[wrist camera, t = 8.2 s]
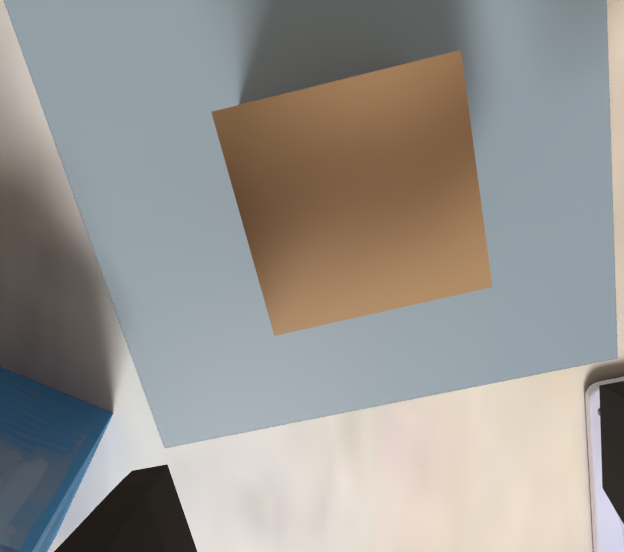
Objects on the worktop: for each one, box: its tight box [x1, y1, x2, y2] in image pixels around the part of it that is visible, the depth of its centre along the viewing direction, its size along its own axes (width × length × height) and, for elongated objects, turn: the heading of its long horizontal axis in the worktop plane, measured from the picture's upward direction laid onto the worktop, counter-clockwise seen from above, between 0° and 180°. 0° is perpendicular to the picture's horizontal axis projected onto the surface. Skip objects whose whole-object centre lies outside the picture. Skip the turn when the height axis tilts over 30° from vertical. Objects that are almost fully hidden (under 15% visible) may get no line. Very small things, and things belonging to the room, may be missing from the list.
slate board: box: [4, 0, 618, 448], centre depth 16 cm, size 16×16×1 cm
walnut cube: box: [211, 50, 492, 336], centre depth 14 cm, size 5×5×5 cm
